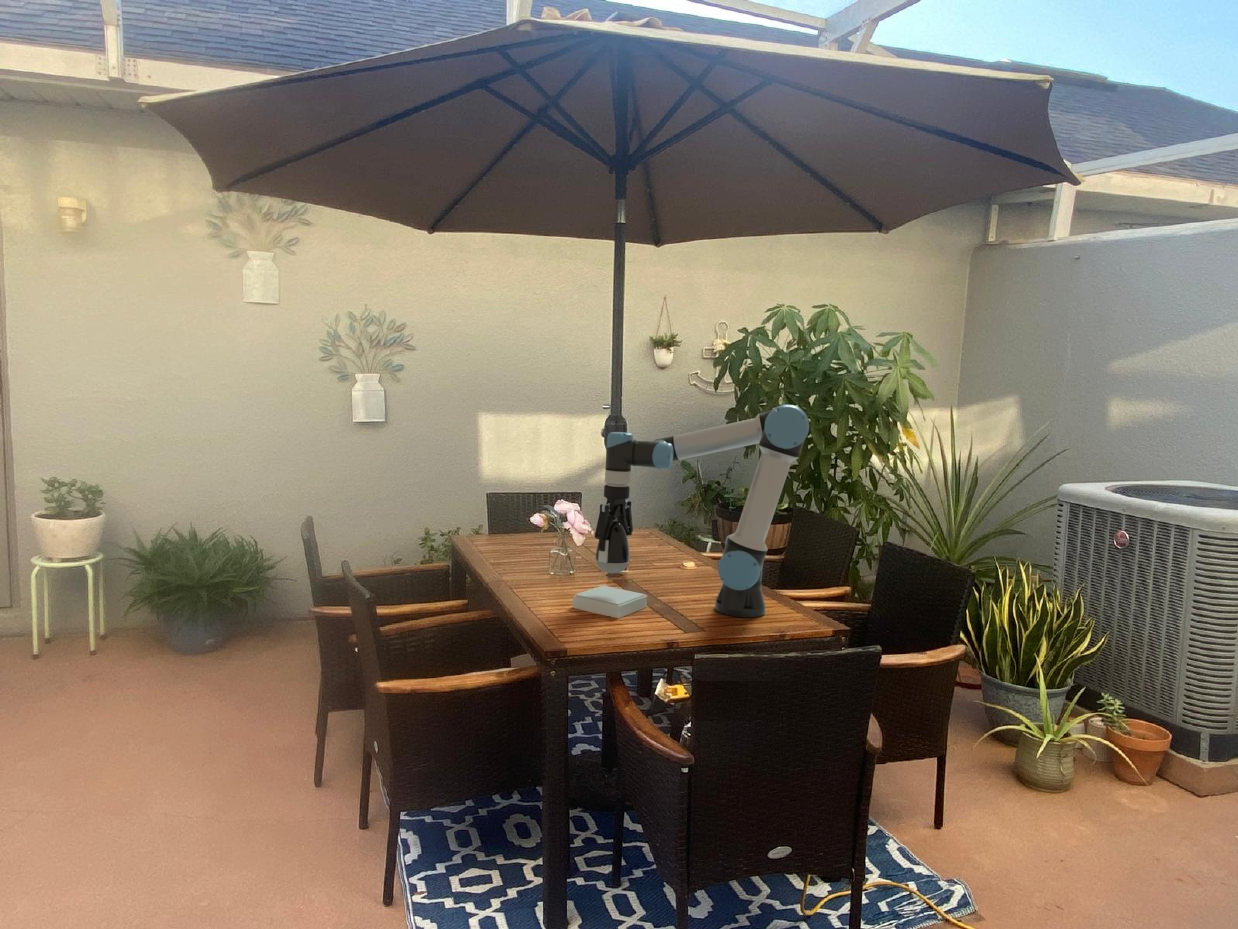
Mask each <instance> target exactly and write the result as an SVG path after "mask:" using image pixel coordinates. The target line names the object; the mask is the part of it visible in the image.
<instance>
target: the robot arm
mask: <svg viewBox="0 0 1238 929" xmlns="http://www.w3.org/2000/svg"><path fill="white" fill-rule="evenodd" d="M809 431H810V421H809V417H808V415H807V414H806V412H805V411H804V410H803V408H801V407H800V406H797V405H794V404H791V403H790V404H788V403H786V404H781V405H777V406H776V407H774V408H773V409H771V410H768V411H765V412H760V413H758V414H757V415H756V416H755V417H754V418H749V419H745V420H744V419H743V420H740V421H737V422H736V421H735V422H732V423H727V424H721V425H718V426H712V427H709V428H705V429H704V428H703V429H699V430H694V431H690V432H685V433H680V434H676V435H672V436H668V437H661V438H656V439H654V440H652V441H648V440H636V439H634V435H633V433H631V432H624V431H623V432H622V431H614V432H613V431H612V432H611V431H610V432H609V433H608V434H607V440H606V446H605V472H604V483H605V484H604V486H603V497H604V498H606V503H605V504H604V503H603V504H602V503H601V504H600V505H599V513H598V519H597V523H596V529H595V532H594V539H596V540H598V542H599V557H598V561H600V562H605V563H607V561H608V544H609V540H607V538H608V535H609V532H610V529H611V526H612V523H613V521H618V522H620V523H621V524H622V526H623V527H624V529H625V532H626V535H627V540H628V541H629V536H632V534H633V531H634V527H633V516H632V501H631V500H628V499H629V498H630V492H631V491H630V488H631V487H630V486H629V485H630V484H631V475H632V474H631V471H632V469H631V468H632V466H633V467H643V468H644V467H645V468H655V469H660V470H661V469H670V468H671V467H672V464H673V462H677V461H680V460H685V459H689V458H694V457H700V456H704V455H709V454H713V453H714V454H715V453H718V452H724V451H728V450H733V449H738V448H743V447H748V446H752V445H758V448H759V449H760V453H761V455H760V457H759V461H758V463H757V465H756V466H757V467H756V469H755V473H754V475H753V479H752V482H751V484H750V486H749V487H750V488H749V491H748V493H747V497H746V500H745V503H744V506H743V509H742V511H741V515H740V518H739V521H738V524H737V526H736V530H735V531H734V532H733V533H731V534H729V535H727V536H726V538H725V541H724V550H723V553H722V554H721V558H720V559H719V561H718V564H717V573H718V576H719V579H720V581H721V582H722V584H721V587H720V589H719V592H718V594H717V595H716V599H715V603H714V610H716V612H718V613H721V614H723V615H726V616H731V617H738V618H757V617H762V616H764V615H765V613H766V602H765V599H764V596H763V590H762V579H763V578H762V577H763V569H764V568H763V565H764V562H765V559H766V556H767V553H768V546H767V545H766V538H767V536H768V533H769V530H770V527H771V523H772V520H773V518H774V515H775V512H776V509H777V506H778V503H779V500H780V498H781V494H782V492H783V488H784V485H785V483H786V480H787V477H788V473H789V470H790V468H791V465H792V463H793V462H795V461H796V460H798V459H799V458H800V455H801V453H802V449H803V446H804V443H805V441H806V438H807V437H808V434H809Z"/></svg>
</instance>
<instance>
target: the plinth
mask: <svg viewBox="0 0 1238 929" xmlns="http://www.w3.org/2000/svg"><path fill="white" fill-rule="evenodd" d="M647 604H648V595H647V594H645V593H641V592H636V591H631V590H627V589H621V588H618V587H613V586H607V585H600V586H598V587H594V588H591V589H589V590H585V591H582V592H578V593H575V594H574V595H573V596H572V609H576V610H580V611H584V612H589V613H593V614H596V615H602V616H607V617H609V616H610V618H615V619H620V618H623V617H626V616H628V615H631V614H634V613H635V612H638V611H641V610H644V609H646V608H647V607H648V606H647Z"/></svg>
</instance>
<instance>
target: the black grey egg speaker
mask: <svg viewBox="0 0 1238 929" xmlns="http://www.w3.org/2000/svg"><path fill="white" fill-rule="evenodd" d="M607 540H609V544H608V561H607V563H605V562H600V561H598V557H599V541H598V542H597V546H596V551H595V554H594V555H595V558H594V559H595V560H596V562H595V563H596V565H597V567H598V568H599V570H601V571H602V572H604V573H609V574H619V573H621V572H623V571H624V570H626V568H627V566H628V564H629V562H630V557H631V556H630V547H629V546H630V545H629V539H628V540H627V535H626V532H625V529H624V527H623V526H622V524H621V523H620V522H618V520H614V521H613V523H612V526H611V529H610V532H609V535H608V538H607Z"/></svg>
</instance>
